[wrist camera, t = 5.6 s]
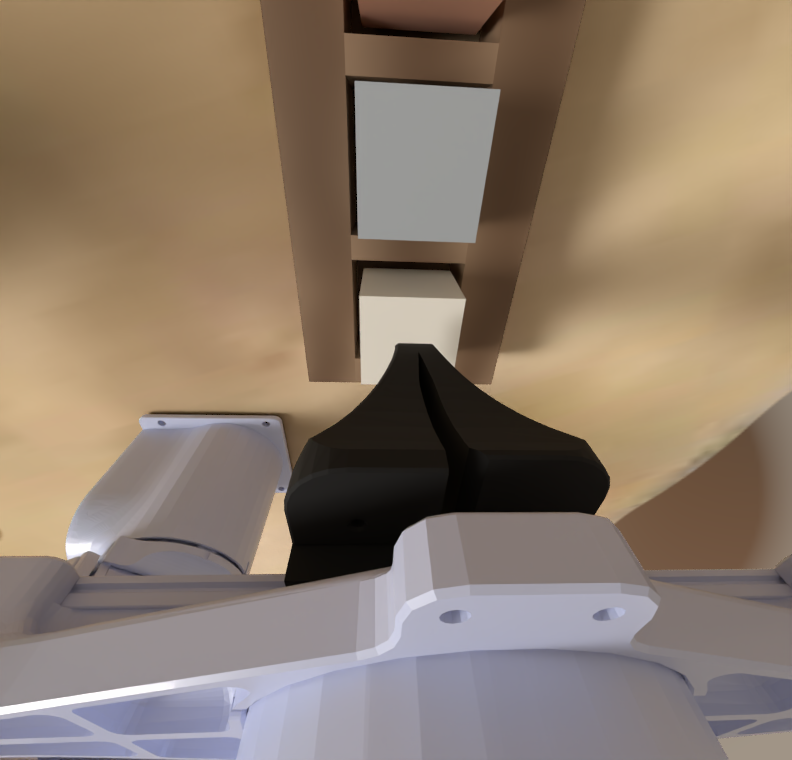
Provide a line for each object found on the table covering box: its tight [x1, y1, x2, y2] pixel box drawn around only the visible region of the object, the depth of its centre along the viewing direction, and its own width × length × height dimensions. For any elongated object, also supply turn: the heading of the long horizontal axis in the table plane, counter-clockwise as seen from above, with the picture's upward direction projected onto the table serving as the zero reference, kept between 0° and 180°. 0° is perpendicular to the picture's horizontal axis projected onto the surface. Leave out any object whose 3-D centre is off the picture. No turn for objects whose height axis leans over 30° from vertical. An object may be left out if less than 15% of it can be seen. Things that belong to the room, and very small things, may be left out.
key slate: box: [355, 81, 501, 243], centre depth 12 cm, size 4×4×4 cm
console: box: [260, 0, 586, 384], centre depth 14 cm, size 10×20×3 cm, turn 178°
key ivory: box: [359, 268, 466, 384], centre depth 15 cm, size 4×4×4 cm
